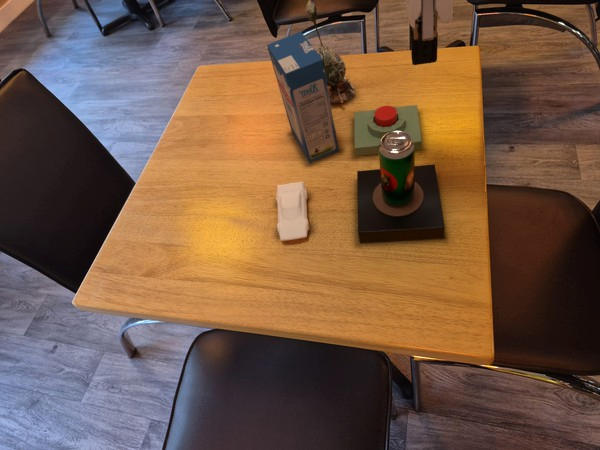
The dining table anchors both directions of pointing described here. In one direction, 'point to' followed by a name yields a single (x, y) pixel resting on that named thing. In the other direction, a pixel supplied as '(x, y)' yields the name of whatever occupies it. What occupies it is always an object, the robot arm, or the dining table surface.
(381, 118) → the red button
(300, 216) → the toy car
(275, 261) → the dining table surface
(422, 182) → the stand
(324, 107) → the milk carton
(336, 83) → the plant with pod
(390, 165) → the soda can
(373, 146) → the button box
